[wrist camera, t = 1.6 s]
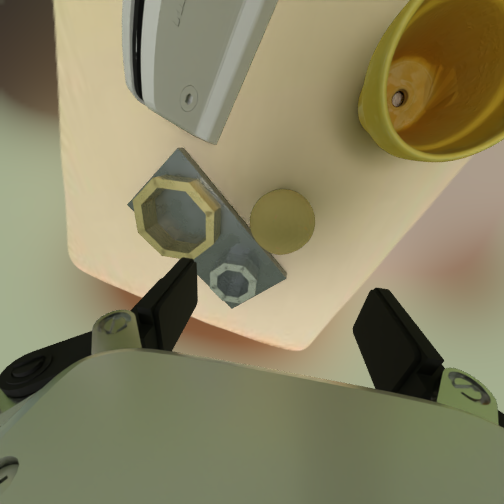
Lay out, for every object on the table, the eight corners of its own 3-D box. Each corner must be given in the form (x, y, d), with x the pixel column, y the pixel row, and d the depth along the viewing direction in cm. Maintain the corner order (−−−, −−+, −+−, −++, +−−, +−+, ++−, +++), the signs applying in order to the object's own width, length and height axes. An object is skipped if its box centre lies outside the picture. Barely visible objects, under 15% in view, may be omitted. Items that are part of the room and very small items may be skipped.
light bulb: (275, 236, 29) (272, 276, 20) (247, 199, 27) (231, 225, 18) (316, 210, 26) (333, 243, 18) (289, 168, 24) (293, 180, 16)
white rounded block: (214, 148, 24) (140, 124, 16) (187, 127, 25) (102, 94, 17) (298, -47, 17) (244, -303, 8) (254, -67, 18) (163, -318, 9)
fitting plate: (183, 148, 25) (164, 148, 21) (286, 272, 31) (286, 291, 27) (134, 202, 29) (111, 210, 25) (233, 302, 35) (227, 322, 31)
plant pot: (484, 61, 18) (665, -16, 10) (399, 172, 23) (469, 187, 14) (386, 2, 17) (488, -139, 9) (319, 130, 22) (343, 120, 14)
